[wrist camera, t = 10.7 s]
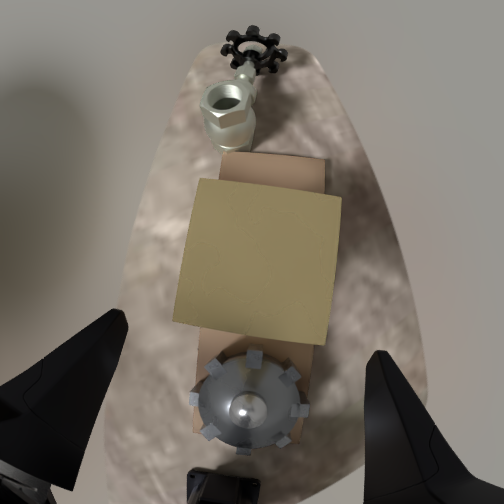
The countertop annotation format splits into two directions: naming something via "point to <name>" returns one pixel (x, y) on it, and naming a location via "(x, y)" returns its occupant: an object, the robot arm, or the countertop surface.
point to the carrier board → (214, 341)
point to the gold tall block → (259, 261)
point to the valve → (238, 92)
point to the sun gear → (249, 400)
